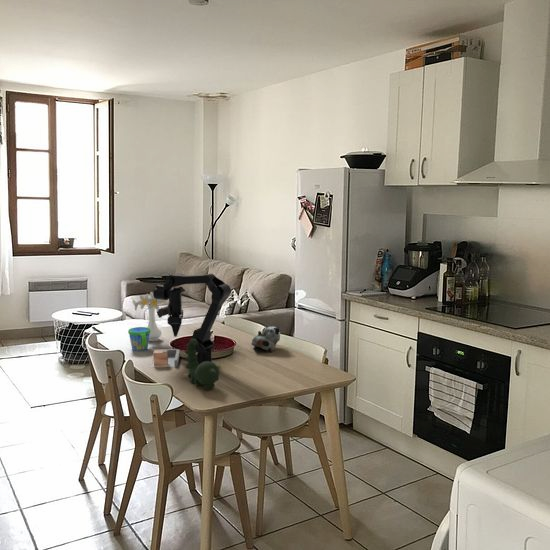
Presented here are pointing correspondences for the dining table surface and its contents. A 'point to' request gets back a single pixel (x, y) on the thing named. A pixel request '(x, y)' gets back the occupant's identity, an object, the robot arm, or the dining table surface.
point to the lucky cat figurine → (267, 339)
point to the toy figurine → (200, 368)
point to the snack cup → (139, 338)
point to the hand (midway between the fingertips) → (176, 334)
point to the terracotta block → (160, 358)
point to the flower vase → (151, 313)
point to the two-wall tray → (169, 358)
